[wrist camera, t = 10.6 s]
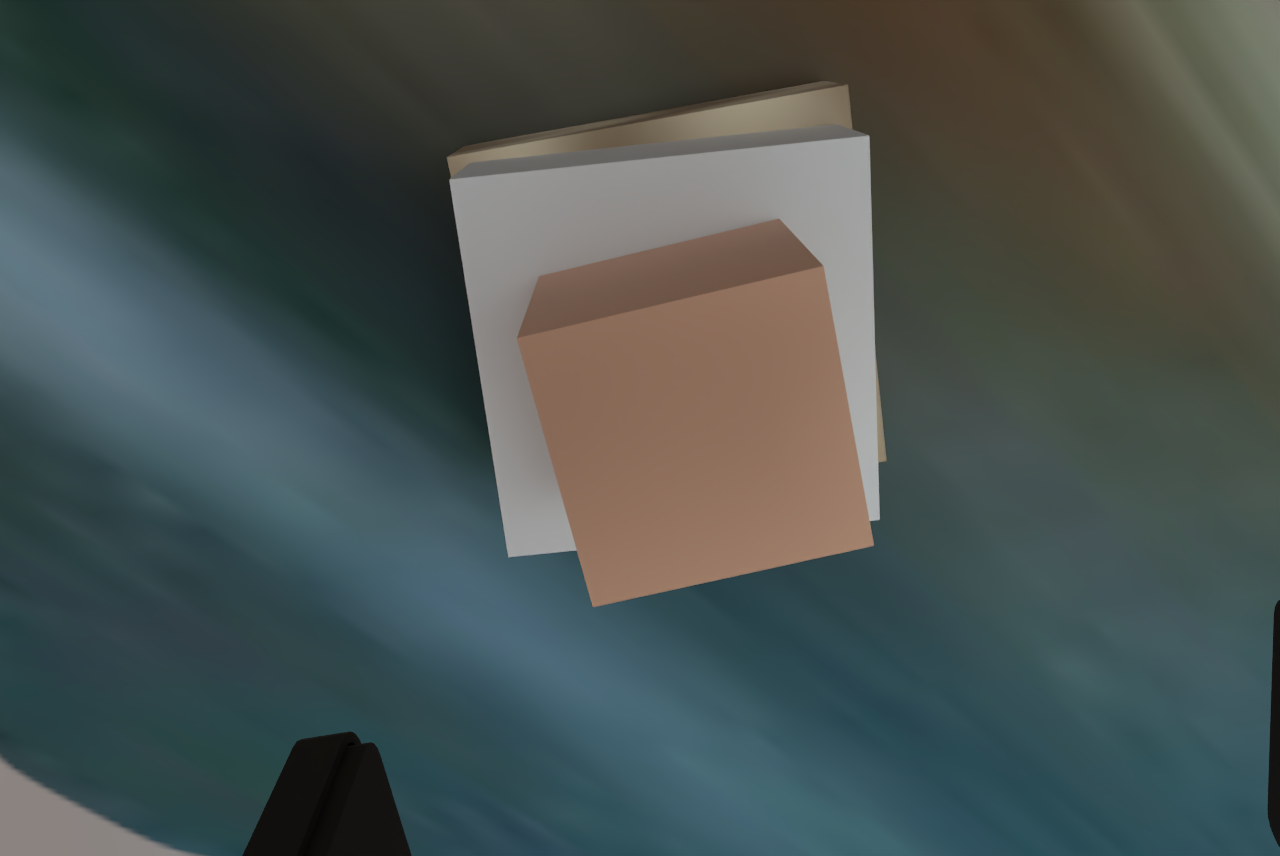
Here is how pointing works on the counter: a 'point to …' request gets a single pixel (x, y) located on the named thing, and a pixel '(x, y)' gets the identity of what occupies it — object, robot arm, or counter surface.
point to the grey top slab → (642, 220)
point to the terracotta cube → (696, 411)
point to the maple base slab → (686, 135)
